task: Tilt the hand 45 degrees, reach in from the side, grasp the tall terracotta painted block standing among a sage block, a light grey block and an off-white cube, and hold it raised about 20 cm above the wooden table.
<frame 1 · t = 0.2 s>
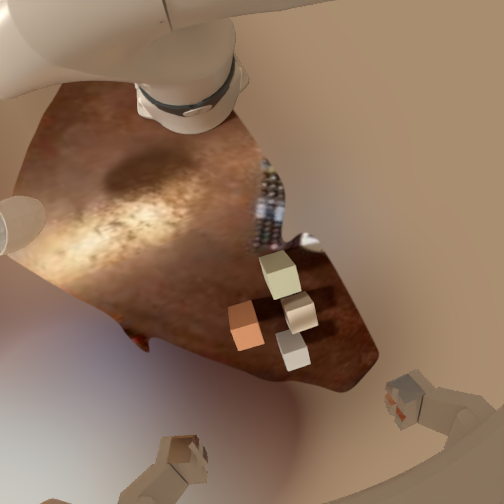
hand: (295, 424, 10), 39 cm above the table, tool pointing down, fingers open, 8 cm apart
light grey block: (288, 338, 55), on the table
off-white cube: (295, 306, 53), on the table
terracotta block: (243, 313, 52), on the table
cup: (66, 205, 42), on the table
sage block: (274, 265, 50), on the table
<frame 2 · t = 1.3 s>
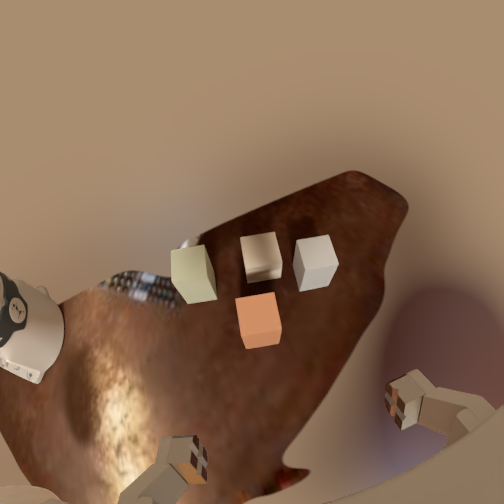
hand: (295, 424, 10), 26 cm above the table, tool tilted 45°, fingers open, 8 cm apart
light grey block: (310, 275, 42), on the table
off-white cube: (261, 266, 43), on the table
terracotta block: (259, 331, 38), on the table
cup: (93, 492, 24), on the table
sage block: (201, 287, 41), on the table
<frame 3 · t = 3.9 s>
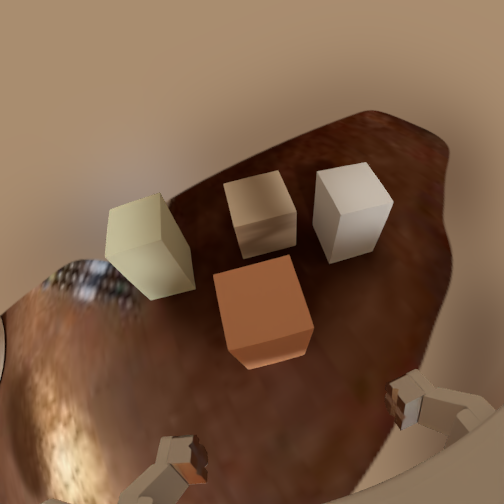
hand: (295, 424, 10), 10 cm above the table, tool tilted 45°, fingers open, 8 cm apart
light grey block: (342, 237, 25), on the table
off-white cube: (263, 231, 27), on the table
terracotta block: (269, 336, 22), on the table
sage block: (170, 273, 26), on the table
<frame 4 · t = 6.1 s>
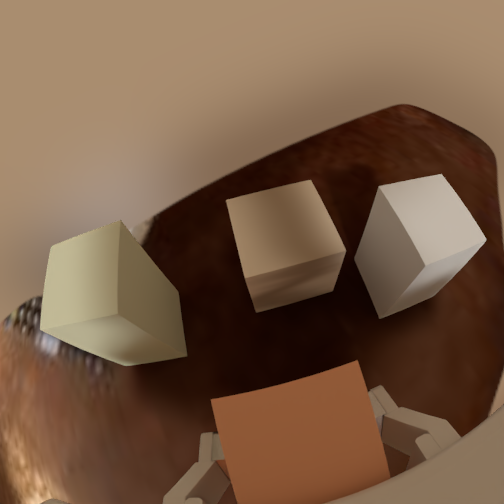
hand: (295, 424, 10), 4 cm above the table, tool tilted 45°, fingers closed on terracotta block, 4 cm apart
light grey block: (394, 278, 17), on the table
off-white cube: (284, 268, 18), on the table
terracotta block: (295, 428, 13), on the table, touching gripper
sage block: (151, 329, 17), on the table
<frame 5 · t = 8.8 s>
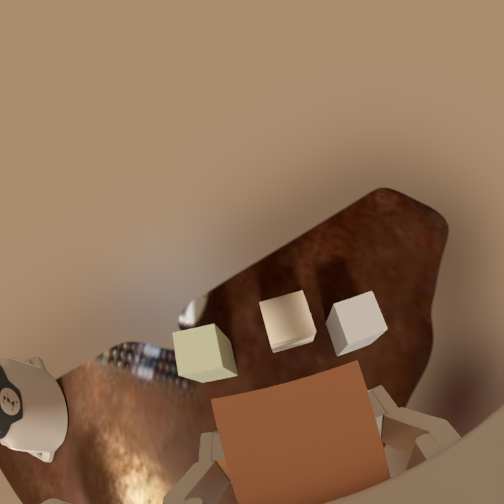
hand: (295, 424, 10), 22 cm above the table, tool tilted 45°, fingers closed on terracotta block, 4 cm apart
light grey block: (348, 333, 32), on the table
off-white cube: (287, 328, 33), on the table
terracotta block: (295, 428, 13), point 17 cm above the table, touching gripper
sage block: (216, 362, 32), on the table
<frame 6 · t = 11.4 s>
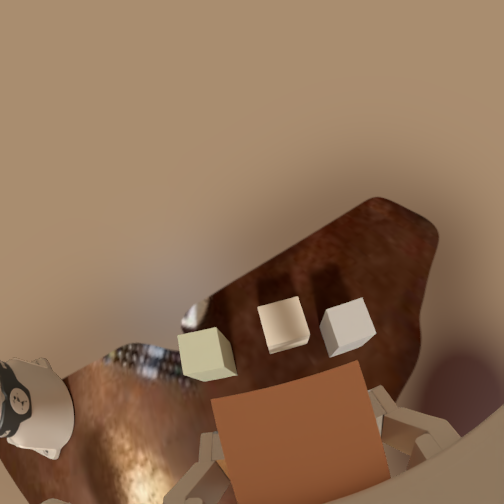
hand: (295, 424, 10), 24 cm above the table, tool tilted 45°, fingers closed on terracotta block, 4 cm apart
light grey block: (340, 336, 34), on the table
off-white cube: (283, 331, 36), on the table
terracotta block: (295, 428, 13), point 20 cm above the table, touching gripper
sage block: (217, 362, 35), on the table
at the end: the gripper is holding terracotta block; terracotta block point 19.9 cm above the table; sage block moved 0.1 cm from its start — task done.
